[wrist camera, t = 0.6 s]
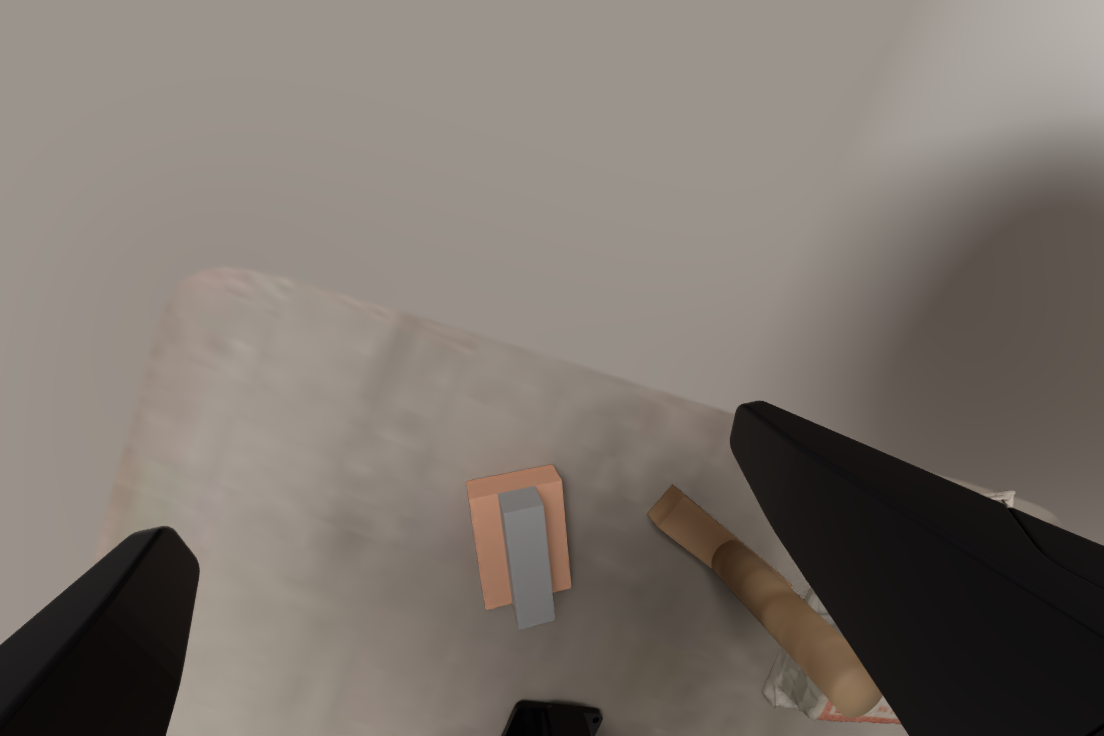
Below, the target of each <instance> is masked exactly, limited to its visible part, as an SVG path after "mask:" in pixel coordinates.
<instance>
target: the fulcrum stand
mask: <svg viewBox="0 0 1104 736" xmlns="http://www.w3.org/2000/svg"><path fill="white" fill-rule="evenodd" d="M466 485H467V491H468V498H469V505H470V511H471V518H472V525H473V531H474V538H475V545H476V551H477V558H478V564H479V571H480V578H481V584H482V591H483V597H484V603H485V609H486V610H489V609H493V608H496V607H500V606H504V605H508V604H512V605H513V609H514V613H515V617H516V621H517V625H518V630H522V629H525V628H529V627H532V626H536V625H540V624H543V623H547V622H551V621H554V620H555V613H554V603H553V593H554V592H558V591H562V590H565V589H569V588H571V579H570V568H569V557H568V545H567V534H566V523H565V512H564V501H563V490H562V480H561V478H560V476H559V475H558V473H557V471H556V470H555V468H554V466H553V464H551V465H546V466H541V467H536V468H531V469H526V470H521V471H516V472H511V473H506V474H501V475H496V476H491V477H486V478H481V479H476V480H471V481H466Z"/></svg>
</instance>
